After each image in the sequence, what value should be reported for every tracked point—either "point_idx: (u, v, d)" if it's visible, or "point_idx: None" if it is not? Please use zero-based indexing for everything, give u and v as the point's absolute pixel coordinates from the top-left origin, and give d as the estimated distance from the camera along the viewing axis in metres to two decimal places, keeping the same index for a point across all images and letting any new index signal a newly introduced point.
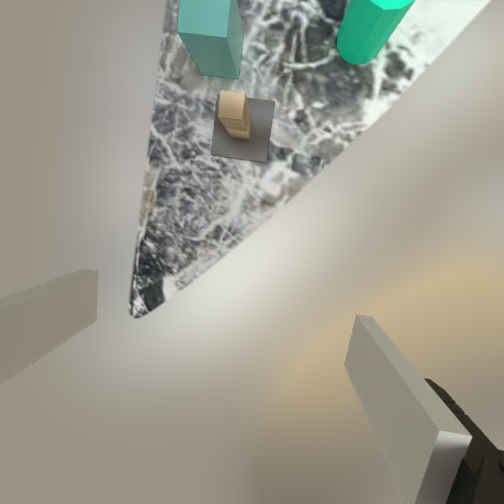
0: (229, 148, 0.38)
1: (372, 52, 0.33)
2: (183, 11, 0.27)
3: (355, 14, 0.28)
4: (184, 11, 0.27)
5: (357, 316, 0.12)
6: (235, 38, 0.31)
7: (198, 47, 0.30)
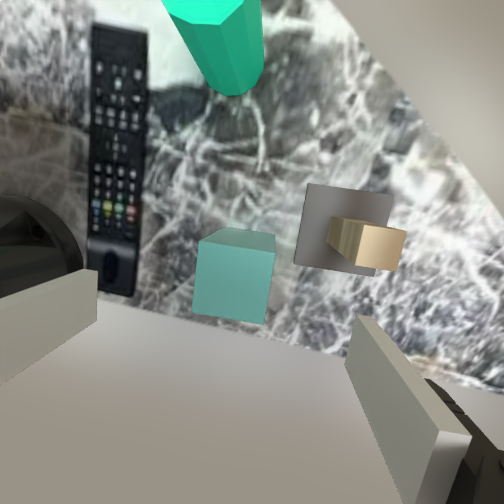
0: None
1: (261, 29, 0.21)
2: (238, 313, 0.19)
3: (236, 47, 0.18)
4: (238, 312, 0.19)
5: (357, 316, 0.12)
6: (248, 238, 0.22)
7: None
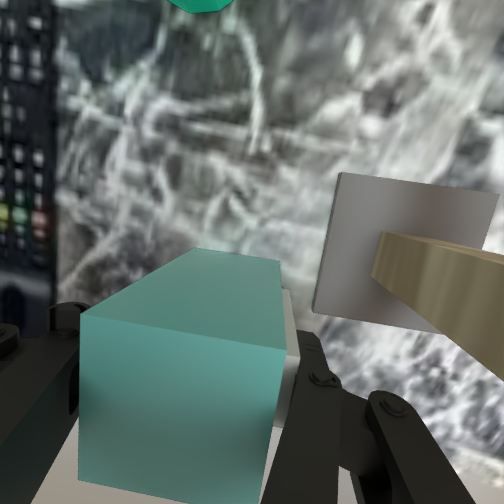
0: None
1: None
2: (191, 489, 0.07)
3: None
4: (191, 486, 0.07)
5: None
6: (226, 280, 0.11)
7: None
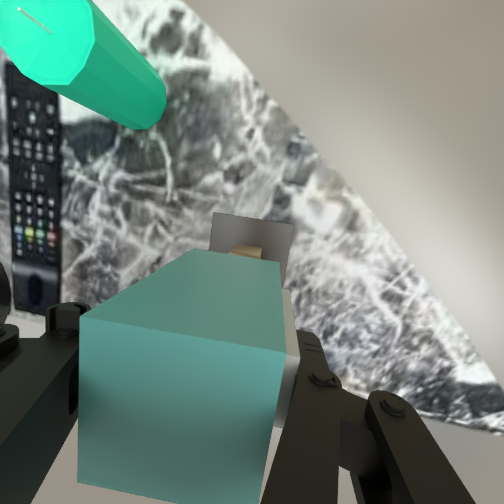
0: None
1: (152, 72, 0.22)
2: (191, 492, 0.07)
3: (106, 97, 0.19)
4: (191, 489, 0.07)
5: None
6: (226, 281, 0.11)
7: None
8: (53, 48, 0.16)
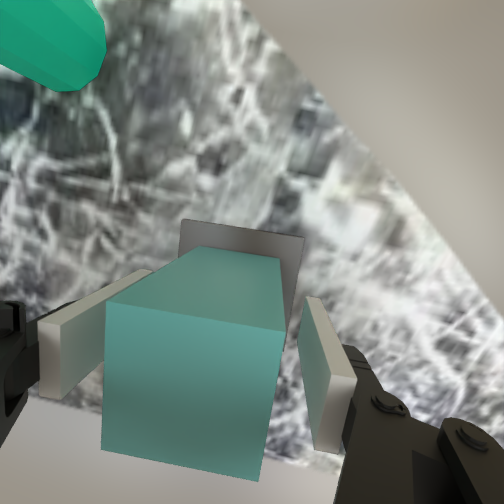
0: None
1: None
2: (201, 457, 0.08)
3: None
4: (201, 454, 0.08)
5: (306, 297, 0.14)
6: (231, 275, 0.12)
7: None
8: None
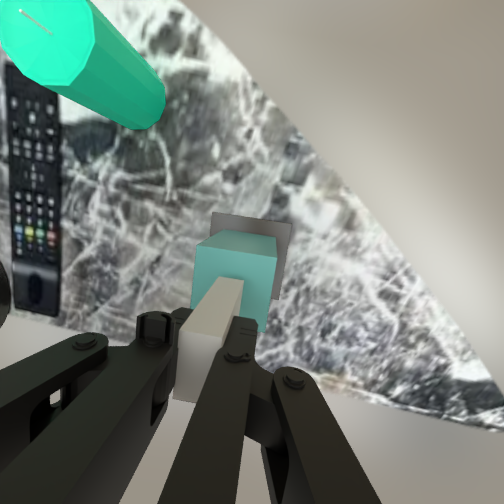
0: None
1: (151, 72, 0.23)
2: None
3: (106, 97, 0.19)
4: None
5: (230, 279, 0.15)
6: (248, 241, 0.21)
7: None
8: (53, 49, 0.16)
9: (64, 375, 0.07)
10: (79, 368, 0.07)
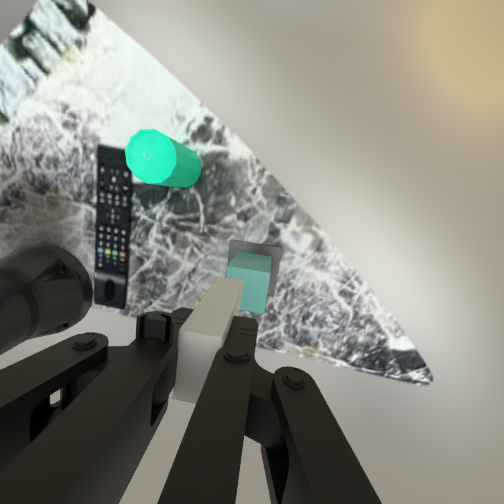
0: None
1: (194, 158, 0.37)
2: (249, 307, 0.32)
3: (174, 181, 0.34)
4: (249, 306, 0.32)
5: (230, 279, 0.15)
6: (254, 261, 0.36)
7: None
8: (153, 164, 0.31)
9: (64, 375, 0.07)
10: (79, 368, 0.07)
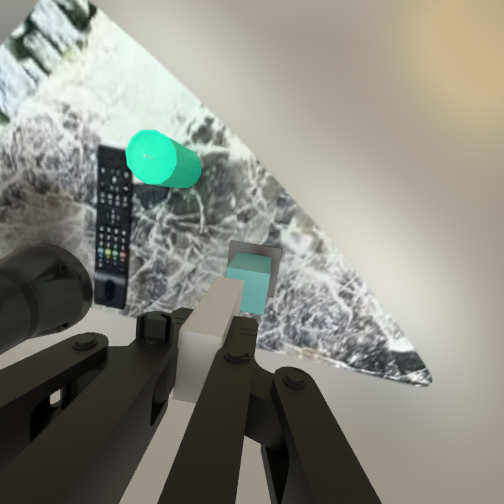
0: None
1: (195, 159, 0.37)
2: (249, 308, 0.32)
3: (174, 182, 0.34)
4: (249, 307, 0.32)
5: (230, 279, 0.15)
6: (254, 262, 0.36)
7: None
8: (153, 165, 0.31)
9: (64, 375, 0.07)
10: (79, 368, 0.07)
